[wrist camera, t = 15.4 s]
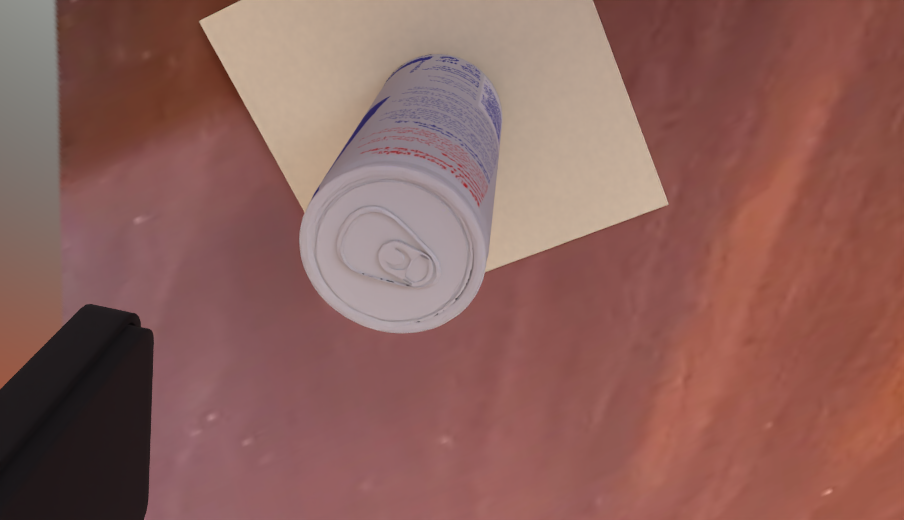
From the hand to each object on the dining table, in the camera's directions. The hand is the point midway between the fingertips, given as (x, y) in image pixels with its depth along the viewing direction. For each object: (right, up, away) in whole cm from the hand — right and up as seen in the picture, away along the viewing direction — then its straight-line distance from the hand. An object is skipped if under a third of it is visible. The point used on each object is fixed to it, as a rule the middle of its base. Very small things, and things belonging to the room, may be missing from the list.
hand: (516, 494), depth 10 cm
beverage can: (-1, +9, +28) cm, 29 cm away
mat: (-1, +9, +28) cm, 30 cm away
